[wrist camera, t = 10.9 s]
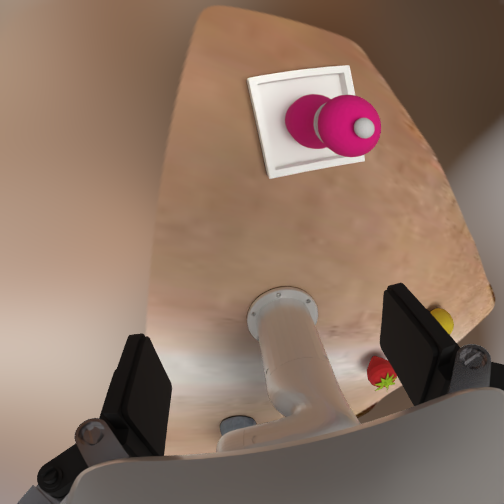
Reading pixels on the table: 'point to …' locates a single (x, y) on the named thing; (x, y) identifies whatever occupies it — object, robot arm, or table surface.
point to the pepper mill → (334, 124)
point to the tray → (274, 110)
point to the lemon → (443, 319)
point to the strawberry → (380, 372)
